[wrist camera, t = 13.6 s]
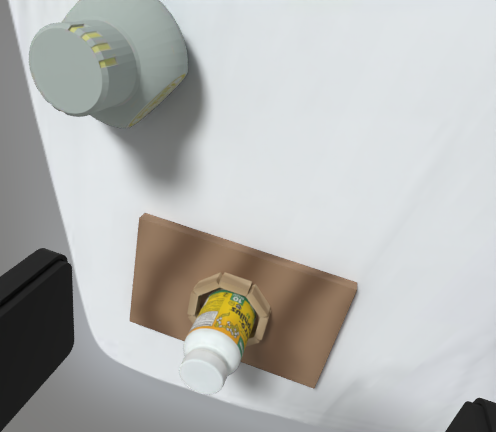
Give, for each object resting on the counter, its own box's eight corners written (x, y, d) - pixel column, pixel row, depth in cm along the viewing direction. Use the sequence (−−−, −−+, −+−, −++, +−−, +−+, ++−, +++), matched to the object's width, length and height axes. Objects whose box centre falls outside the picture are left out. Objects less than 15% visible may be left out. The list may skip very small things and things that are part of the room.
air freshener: (133, 131, 40) (66, 168, 31) (69, 57, 38) (-20, 75, 29) (215, 51, 34) (162, 69, 26) (145, -37, 33) (64, -50, 24)
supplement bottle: (199, 292, 44) (159, 359, 36) (243, 279, 42) (211, 347, 34) (223, 331, 46) (190, 404, 38) (266, 321, 44) (241, 396, 36)
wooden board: (357, 282, 40) (356, 300, 38) (315, 380, 47) (312, 399, 45) (144, 212, 43) (131, 225, 41) (134, 314, 50) (122, 329, 48)
